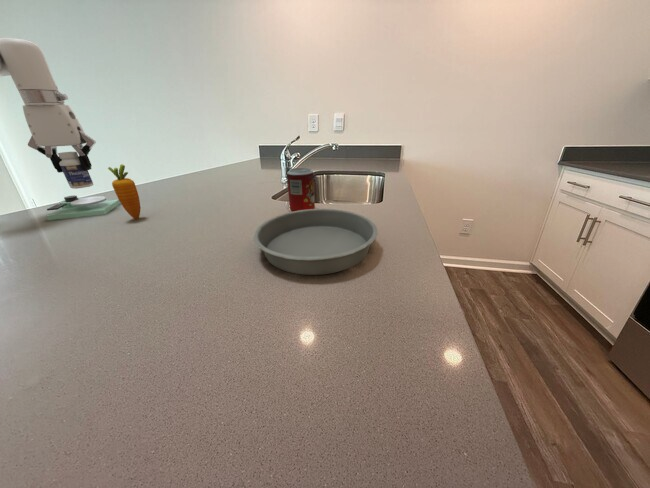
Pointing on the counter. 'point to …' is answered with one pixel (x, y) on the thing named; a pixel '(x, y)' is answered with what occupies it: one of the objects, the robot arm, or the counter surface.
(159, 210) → the counter surface
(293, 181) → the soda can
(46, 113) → the robot arm
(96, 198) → the weighing plate
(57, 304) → the counter surface
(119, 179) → the carrot
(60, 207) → the scale display
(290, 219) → the cake pan
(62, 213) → the scale
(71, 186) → the pill bottle
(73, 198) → the tare button
